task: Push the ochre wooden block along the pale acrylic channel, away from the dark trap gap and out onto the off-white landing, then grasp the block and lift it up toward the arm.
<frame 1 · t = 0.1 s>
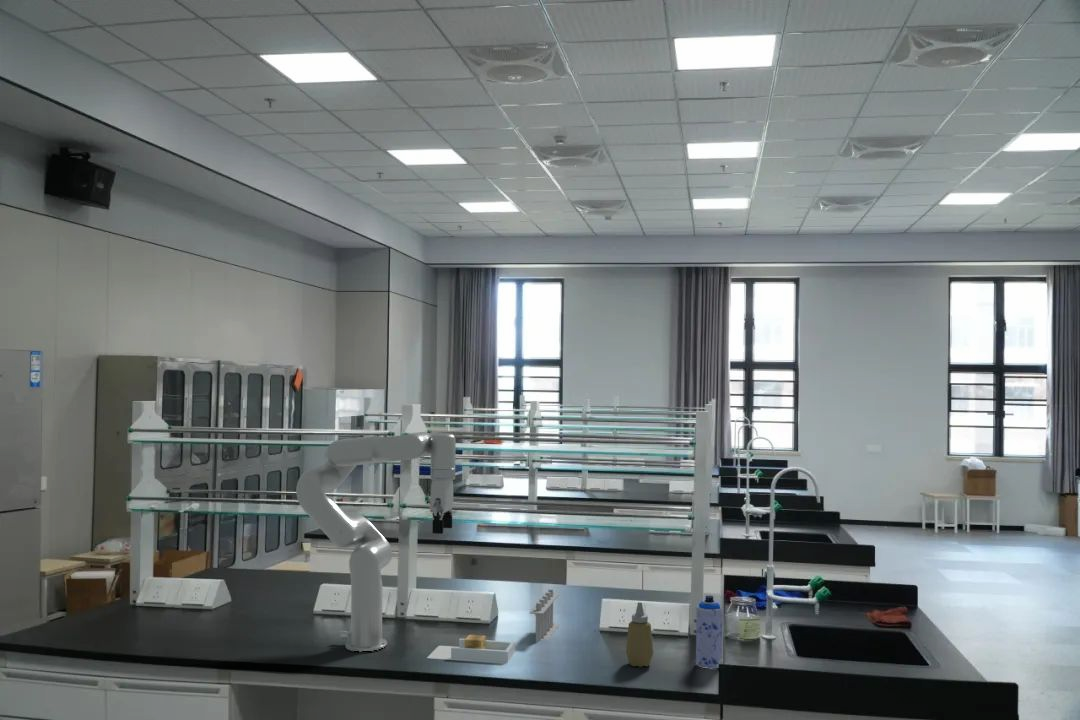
hand: (442, 530, 267), 37 cm above the table, tool pointing down, fingers open, 9 cm apart
block: (475, 654, 259), point 1 cm above the table, touching channel
channel: (471, 659, 259), on the table
squeeze bottle: (639, 665, 256), on the table
aerosol can: (709, 665, 256), on the table
test tube rack: (544, 637, 283), on the table
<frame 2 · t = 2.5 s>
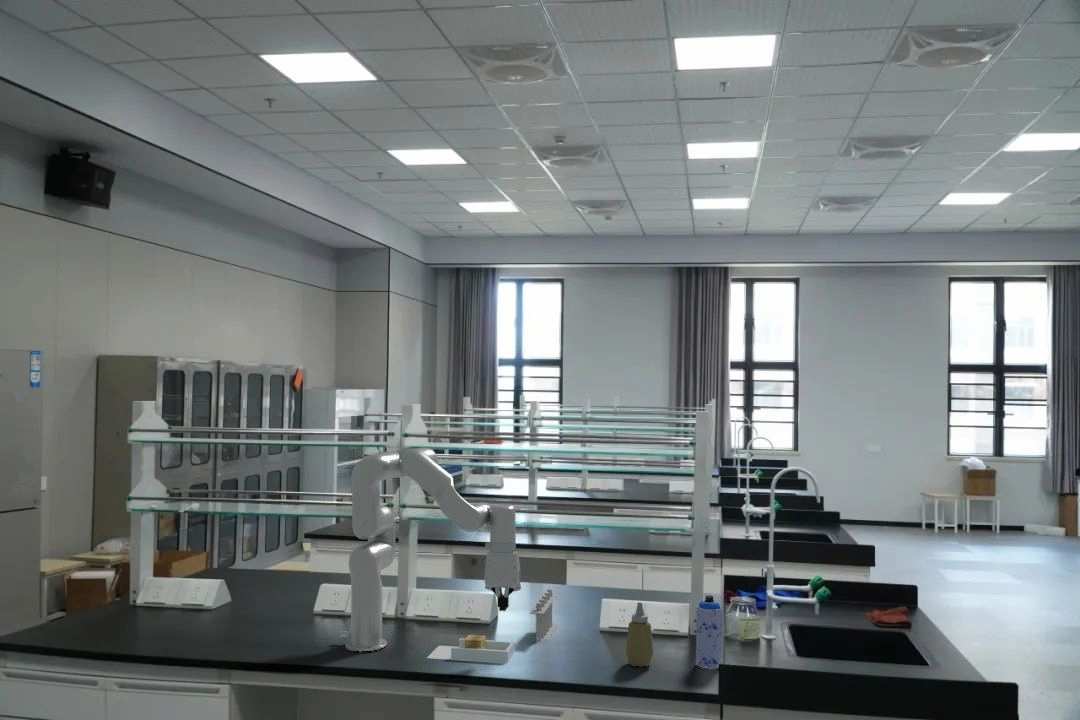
hand: (503, 609, 258), 15 cm above the table, tool pointing down, fingers closed
nothing on the table moved.
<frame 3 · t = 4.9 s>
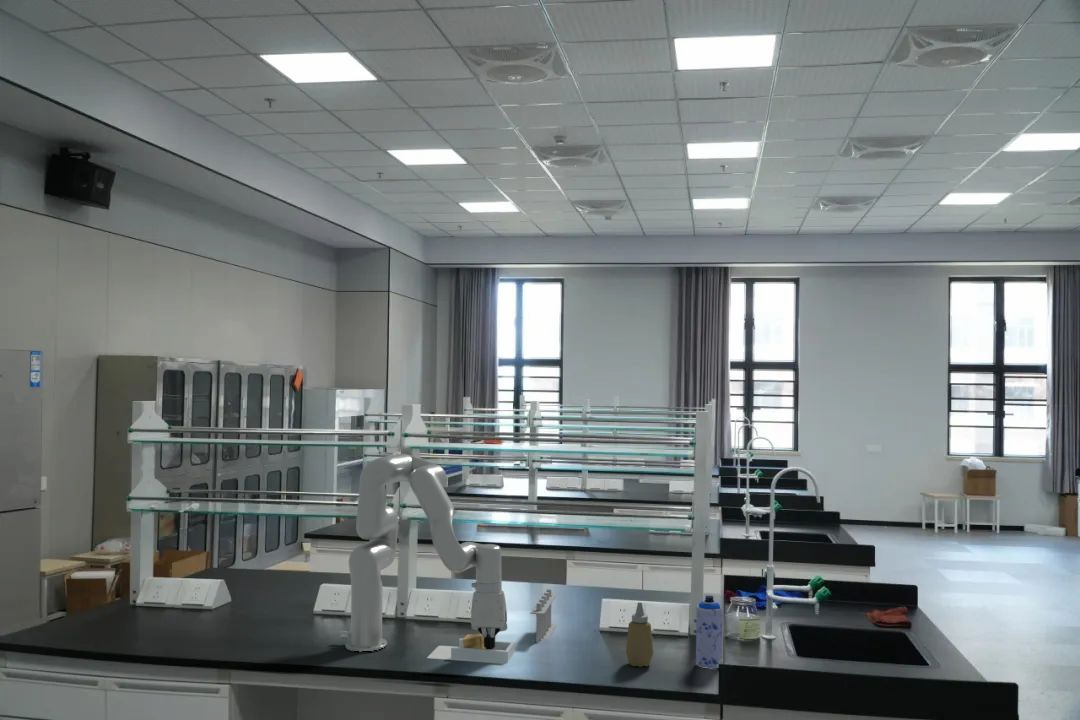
hand: (489, 649, 258), 3 cm above the table, tool pointing down, fingers closed
block: (474, 653, 259), point 2 cm above the table, tilted 7°, touching channel, gripper
everything else where it was.
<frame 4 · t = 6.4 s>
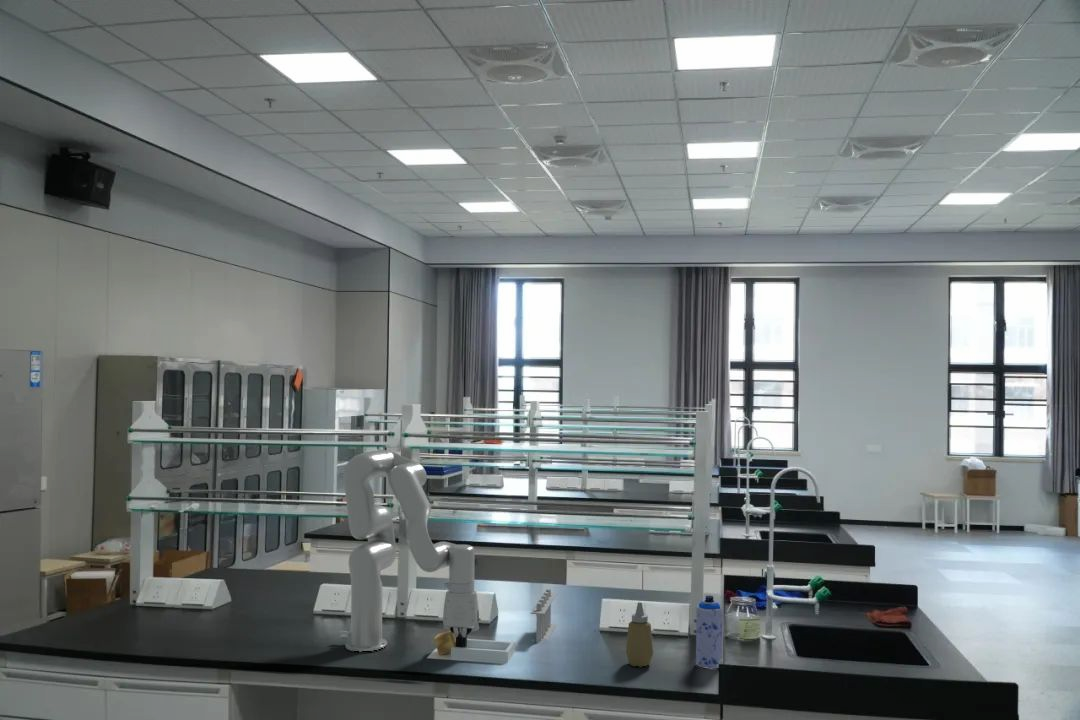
hand: (461, 649, 260), 3 cm above the table, tool pointing down, fingers closed
block: (448, 650, 260), point 2 cm above the table, tilted 19°, touching gripper
everything else where it was.
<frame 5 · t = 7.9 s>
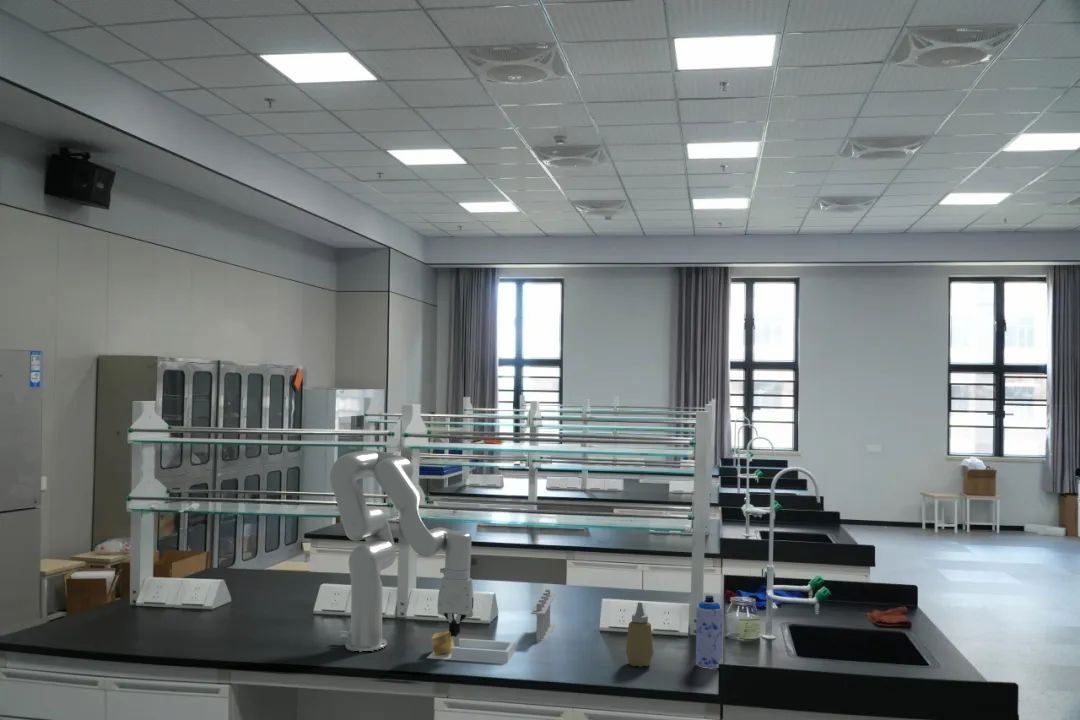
hand: (454, 635, 261), 7 cm above the table, tool pointing down, fingers closed
block: (444, 651, 260), point 2 cm above the table, tilted 13°, touching channel
everything else where it was.
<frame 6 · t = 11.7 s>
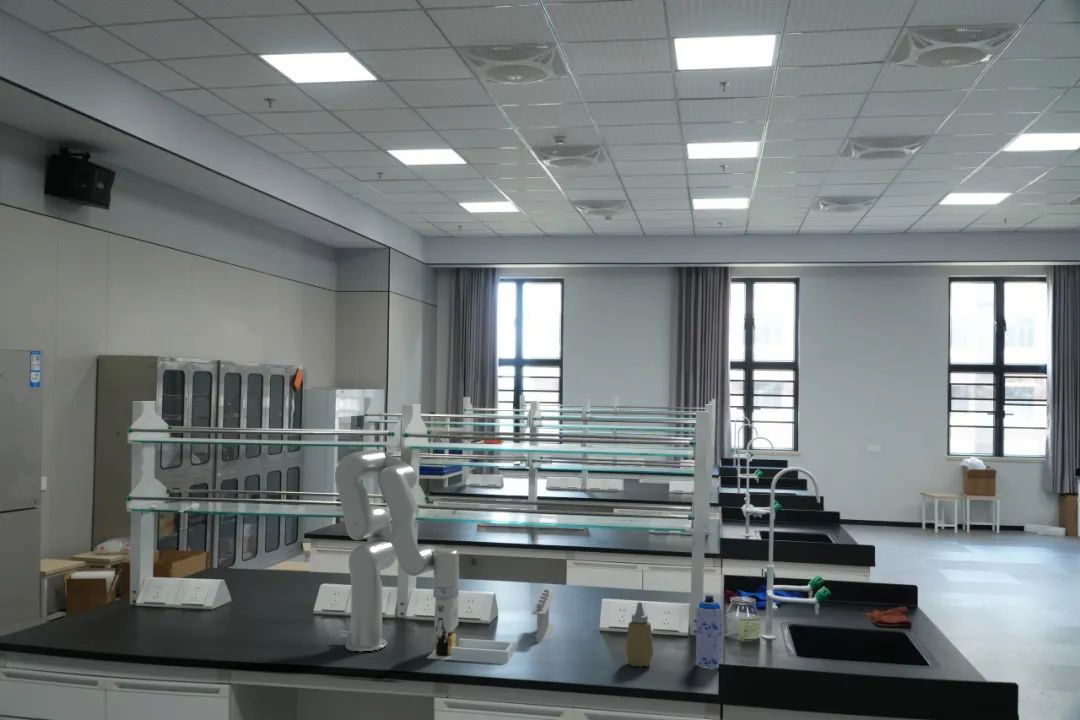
hand: (445, 651, 261), 2 cm above the table, tool pointing down, fingers closed on block, channel, 5 cm apart
block: (445, 652, 261), point 2 cm above the table, touching channel, gripper
everything else where it was.
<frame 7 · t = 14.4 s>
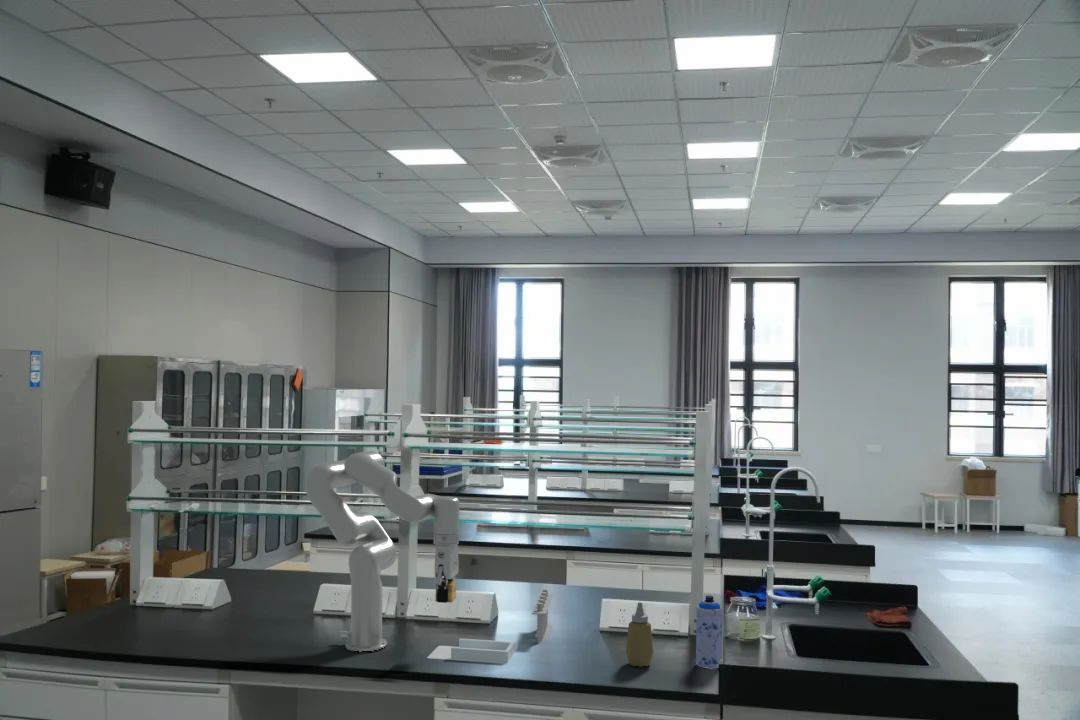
hand: (445, 599, 261), 17 cm above the table, tool pointing down, fingers closed on block, 5 cm apart
block: (445, 599, 261), point 17 cm above the table, touching gripper
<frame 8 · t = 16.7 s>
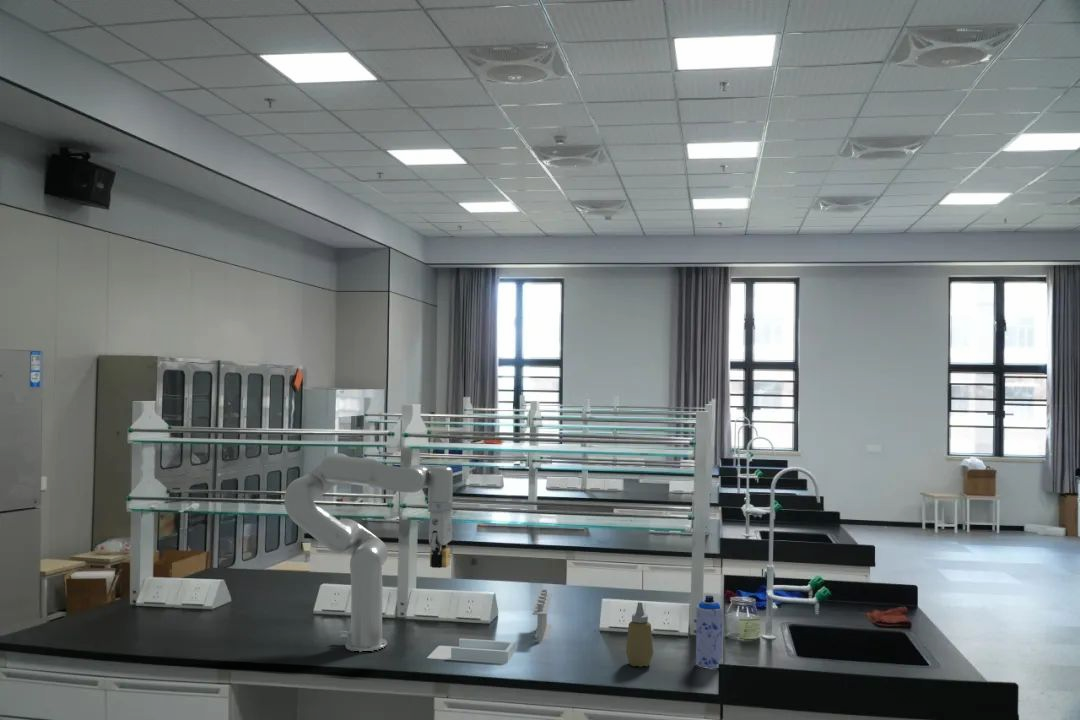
hand: (439, 564, 271), 25 cm above the table, tool pointing down, fingers closed on block, 5 cm apart
block: (439, 565, 271), point 25 cm above the table, touching gripper
at the end: block point 25.2 cm above the table; the gripper is holding block; block inside the target area (3.1 cm from its centre), point 25.2 cm above the table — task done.
